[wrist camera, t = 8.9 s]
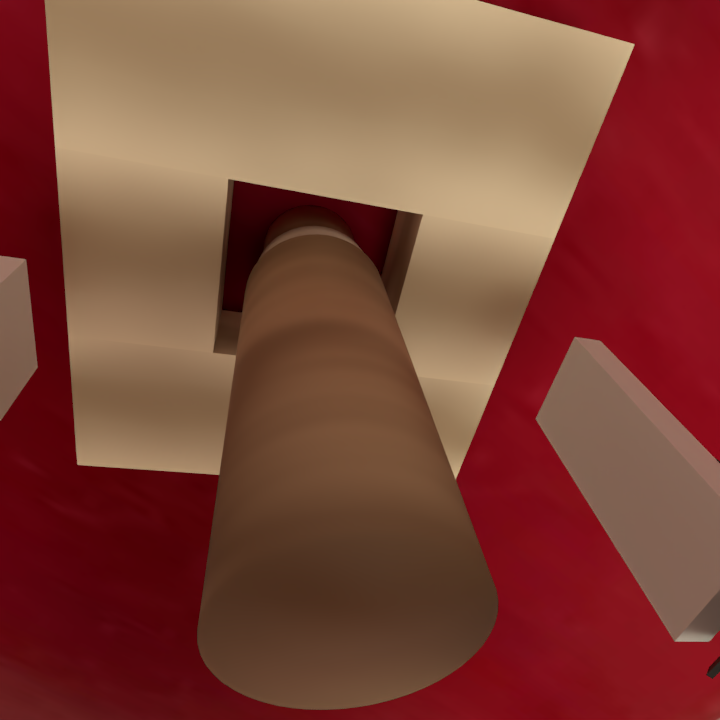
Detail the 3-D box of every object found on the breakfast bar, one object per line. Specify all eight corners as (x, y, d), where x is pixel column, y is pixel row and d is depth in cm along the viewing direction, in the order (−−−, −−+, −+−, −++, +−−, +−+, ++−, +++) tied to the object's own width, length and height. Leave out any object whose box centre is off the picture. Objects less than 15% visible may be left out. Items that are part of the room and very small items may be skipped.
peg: (353, 309, 20) (448, 706, 9) (246, 294, 20) (188, 712, 8) (378, 204, 18) (544, 540, 7) (258, 182, 18) (208, 522, 6)
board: (433, 442, 24) (450, 491, 22) (101, 412, 22) (77, 465, 19) (580, 39, 16) (634, 44, 14) (82, -98, 13) (36, -122, 11)
